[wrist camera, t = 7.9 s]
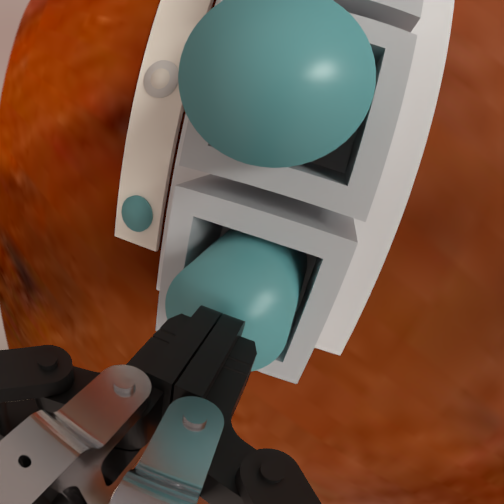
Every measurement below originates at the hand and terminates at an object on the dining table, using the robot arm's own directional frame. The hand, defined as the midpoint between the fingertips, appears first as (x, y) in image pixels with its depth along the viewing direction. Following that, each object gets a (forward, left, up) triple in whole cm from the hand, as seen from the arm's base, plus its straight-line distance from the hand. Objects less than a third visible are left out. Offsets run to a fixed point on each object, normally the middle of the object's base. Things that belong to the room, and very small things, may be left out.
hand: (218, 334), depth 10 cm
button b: (0, -8, -5) cm, 9 cm away
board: (0, -8, -8) cm, 11 cm away
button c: (0, 0, -7) cm, 7 cm away
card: (+8, -8, -8) cm, 14 cm away
